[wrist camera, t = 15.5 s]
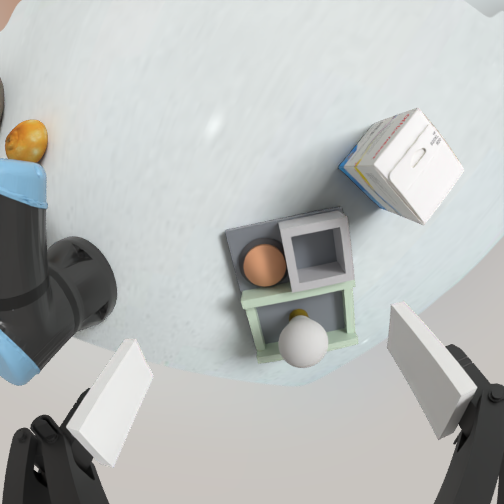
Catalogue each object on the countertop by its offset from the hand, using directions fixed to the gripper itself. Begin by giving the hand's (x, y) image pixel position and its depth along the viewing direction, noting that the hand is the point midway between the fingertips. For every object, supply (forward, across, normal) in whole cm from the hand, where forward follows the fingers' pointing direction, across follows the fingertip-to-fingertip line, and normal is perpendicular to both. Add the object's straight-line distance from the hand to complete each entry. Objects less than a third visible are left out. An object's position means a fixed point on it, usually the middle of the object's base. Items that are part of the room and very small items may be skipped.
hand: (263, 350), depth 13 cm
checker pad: (+22, 0, -3) cm, 22 cm away
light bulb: (+23, +3, -12) cm, 26 cm away
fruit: (+25, -34, +22) cm, 48 cm away
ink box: (+24, +17, +7) cm, 30 cm away
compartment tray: (+24, +4, -8) cm, 25 cm away
